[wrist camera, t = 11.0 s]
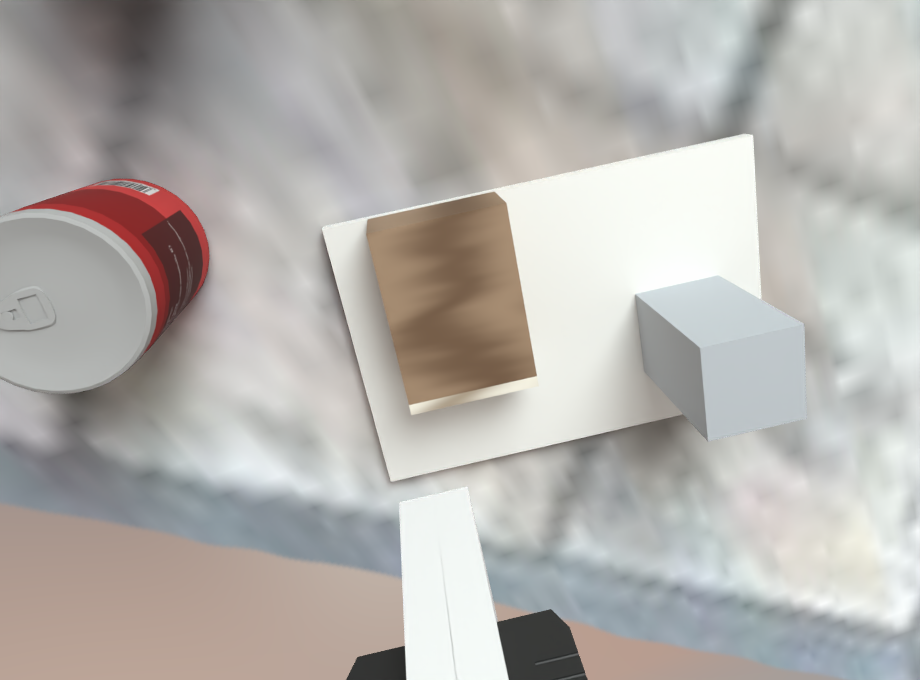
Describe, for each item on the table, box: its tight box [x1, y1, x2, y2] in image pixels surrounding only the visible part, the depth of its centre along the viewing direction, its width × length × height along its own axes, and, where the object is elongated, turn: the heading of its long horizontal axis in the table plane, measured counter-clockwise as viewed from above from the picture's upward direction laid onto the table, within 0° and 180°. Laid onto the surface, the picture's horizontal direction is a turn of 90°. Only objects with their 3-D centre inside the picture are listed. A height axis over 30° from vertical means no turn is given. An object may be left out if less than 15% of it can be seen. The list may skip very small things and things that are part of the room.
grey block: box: [635, 275, 807, 441], centre depth 38 cm, size 5×5×9 cm
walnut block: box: [366, 192, 539, 415], centre depth 38 cm, size 7×4×10 cm
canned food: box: [0, 179, 209, 394], centre depth 33 cm, size 8×8×11 cm
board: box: [322, 134, 761, 482], centre depth 42 cm, size 24×16×1 cm, turn 101°
